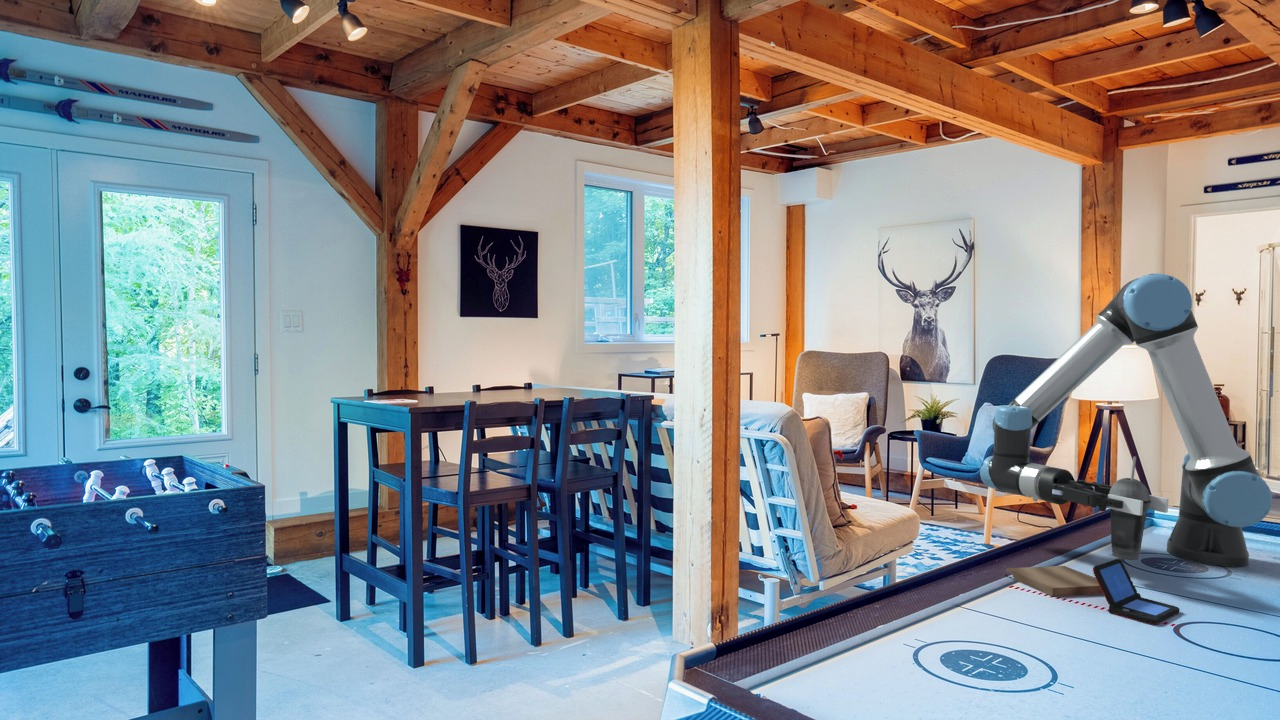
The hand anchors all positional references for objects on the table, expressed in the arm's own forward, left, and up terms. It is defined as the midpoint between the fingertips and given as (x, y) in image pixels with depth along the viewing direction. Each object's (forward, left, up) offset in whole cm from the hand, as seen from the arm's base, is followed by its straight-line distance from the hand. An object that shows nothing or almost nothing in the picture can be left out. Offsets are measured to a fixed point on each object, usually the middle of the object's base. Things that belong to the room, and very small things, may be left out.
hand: (1154, 506), depth 160 cm
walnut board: (+17, -5, -16) cm, 23 cm away
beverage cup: (+1, -5, -11) cm, 12 cm away
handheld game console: (+14, +10, -16) cm, 23 cm away
